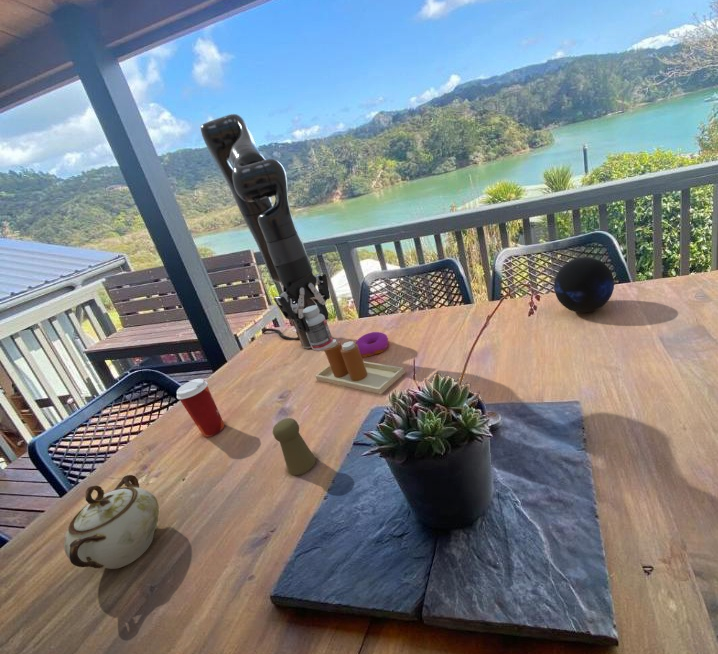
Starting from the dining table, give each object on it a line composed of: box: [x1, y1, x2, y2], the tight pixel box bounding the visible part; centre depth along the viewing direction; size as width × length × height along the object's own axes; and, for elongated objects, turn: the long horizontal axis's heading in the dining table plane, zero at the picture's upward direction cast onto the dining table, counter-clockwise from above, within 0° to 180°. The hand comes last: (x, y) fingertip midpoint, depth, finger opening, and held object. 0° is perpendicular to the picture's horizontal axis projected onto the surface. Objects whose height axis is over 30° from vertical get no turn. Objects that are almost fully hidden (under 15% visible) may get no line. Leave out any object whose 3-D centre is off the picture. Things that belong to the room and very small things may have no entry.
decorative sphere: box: [553, 256, 615, 314], centre depth 118 cm, size 15×15×15 cm
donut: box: [355, 331, 389, 358], centre depth 133 cm, size 10×10×5 cm
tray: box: [314, 360, 406, 395], centre depth 119 cm, size 25×10×2 cm, turn 52°
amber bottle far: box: [323, 338, 348, 378], centre depth 122 cm, size 5×5×10 cm
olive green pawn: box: [272, 417, 317, 476], centre depth 89 cm, size 6×6×11 cm
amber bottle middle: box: [341, 340, 367, 381], centre depth 117 cm, size 5×5×10 cm
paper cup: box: [176, 378, 225, 438], centre depth 112 cm, size 8×8×14 cm
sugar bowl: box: [63, 474, 160, 570], centre depth 79 cm, size 20×15×15 cm
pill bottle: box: [303, 305, 334, 352], centre depth 102 cm, size 5×5×10 cm
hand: (315, 325), depth 101 cm, fingers closed on pill bottle, 5 cm apart
